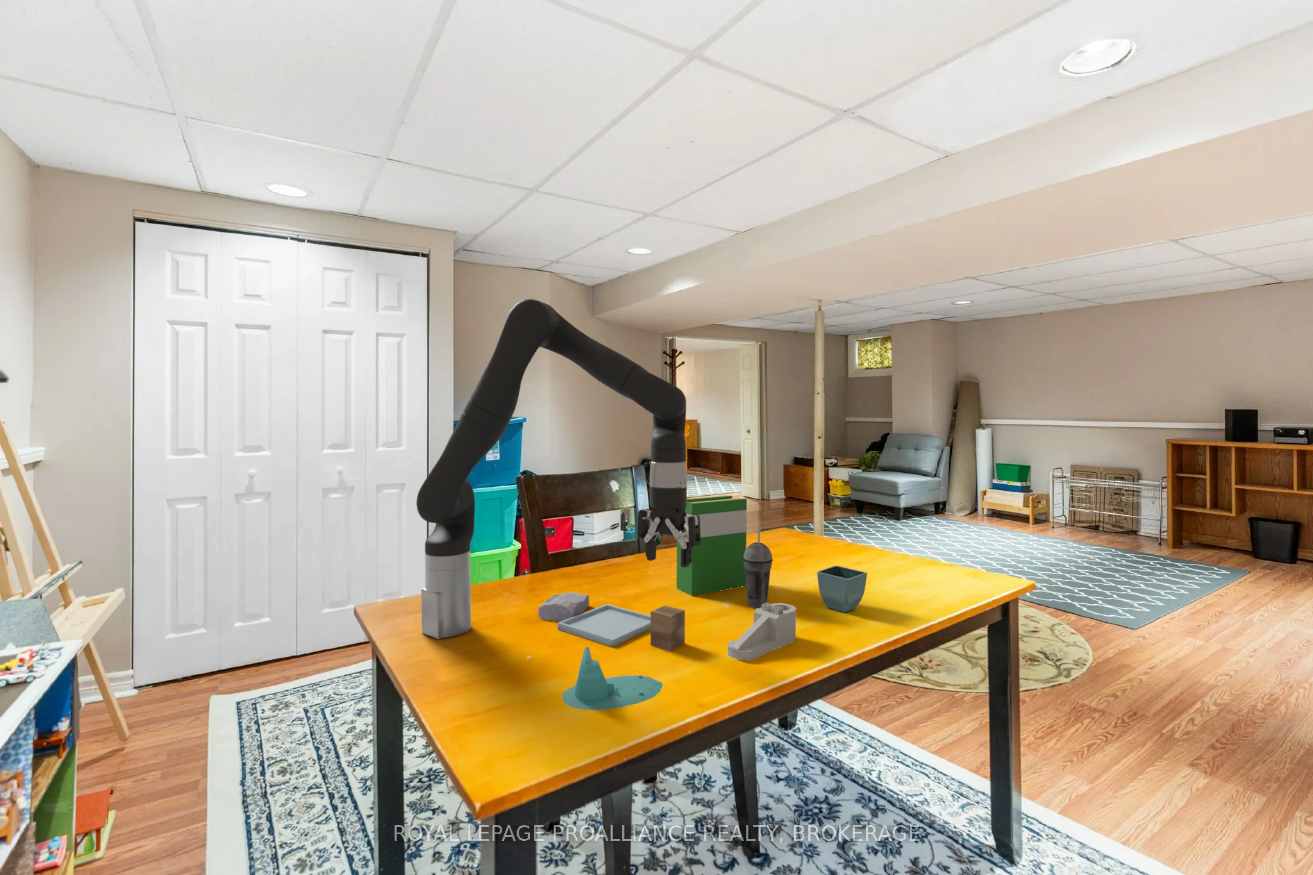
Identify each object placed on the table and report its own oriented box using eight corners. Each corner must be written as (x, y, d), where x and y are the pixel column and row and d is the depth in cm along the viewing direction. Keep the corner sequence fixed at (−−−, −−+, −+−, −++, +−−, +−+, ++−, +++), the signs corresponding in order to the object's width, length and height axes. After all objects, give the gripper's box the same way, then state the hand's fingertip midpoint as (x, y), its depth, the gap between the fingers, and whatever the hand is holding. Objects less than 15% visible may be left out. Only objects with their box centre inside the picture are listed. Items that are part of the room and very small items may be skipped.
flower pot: (848, 617, 138) (848, 579, 137) (815, 607, 144) (815, 571, 144) (867, 608, 144) (868, 572, 143) (835, 600, 150) (835, 565, 150)
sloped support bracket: (722, 654, 117) (723, 614, 116) (778, 632, 128) (779, 596, 128) (744, 664, 112) (745, 622, 112) (800, 640, 124) (801, 602, 124)
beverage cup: (739, 608, 144) (739, 526, 143) (746, 599, 150) (746, 521, 149) (769, 612, 141) (770, 528, 140) (774, 603, 148) (775, 523, 147)
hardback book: (729, 579, 168) (730, 495, 167) (745, 586, 162) (746, 498, 161) (676, 588, 159) (677, 500, 158) (691, 596, 153) (692, 503, 152)
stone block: (535, 628, 135) (576, 622, 133) (532, 607, 136) (572, 601, 134) (555, 612, 147) (593, 607, 145) (551, 593, 147) (589, 588, 145)
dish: (612, 646, 120) (612, 640, 120) (557, 629, 129) (557, 622, 129) (660, 624, 132) (660, 618, 132) (606, 609, 142) (606, 604, 142)
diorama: (683, 699, 99) (683, 648, 98) (565, 722, 91) (564, 667, 91) (655, 669, 110) (655, 624, 110) (548, 688, 103) (548, 639, 102)
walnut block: (670, 651, 118) (670, 616, 117) (650, 645, 121) (650, 611, 120) (684, 643, 122) (684, 610, 121) (665, 638, 125) (665, 605, 124)
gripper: (629, 483, 121) (629, 561, 122) (686, 488, 112) (686, 573, 113) (651, 479, 127) (651, 554, 128) (708, 484, 118) (707, 565, 119)
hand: (668, 563), depth 120 cm, fingers open, 8 cm apart
